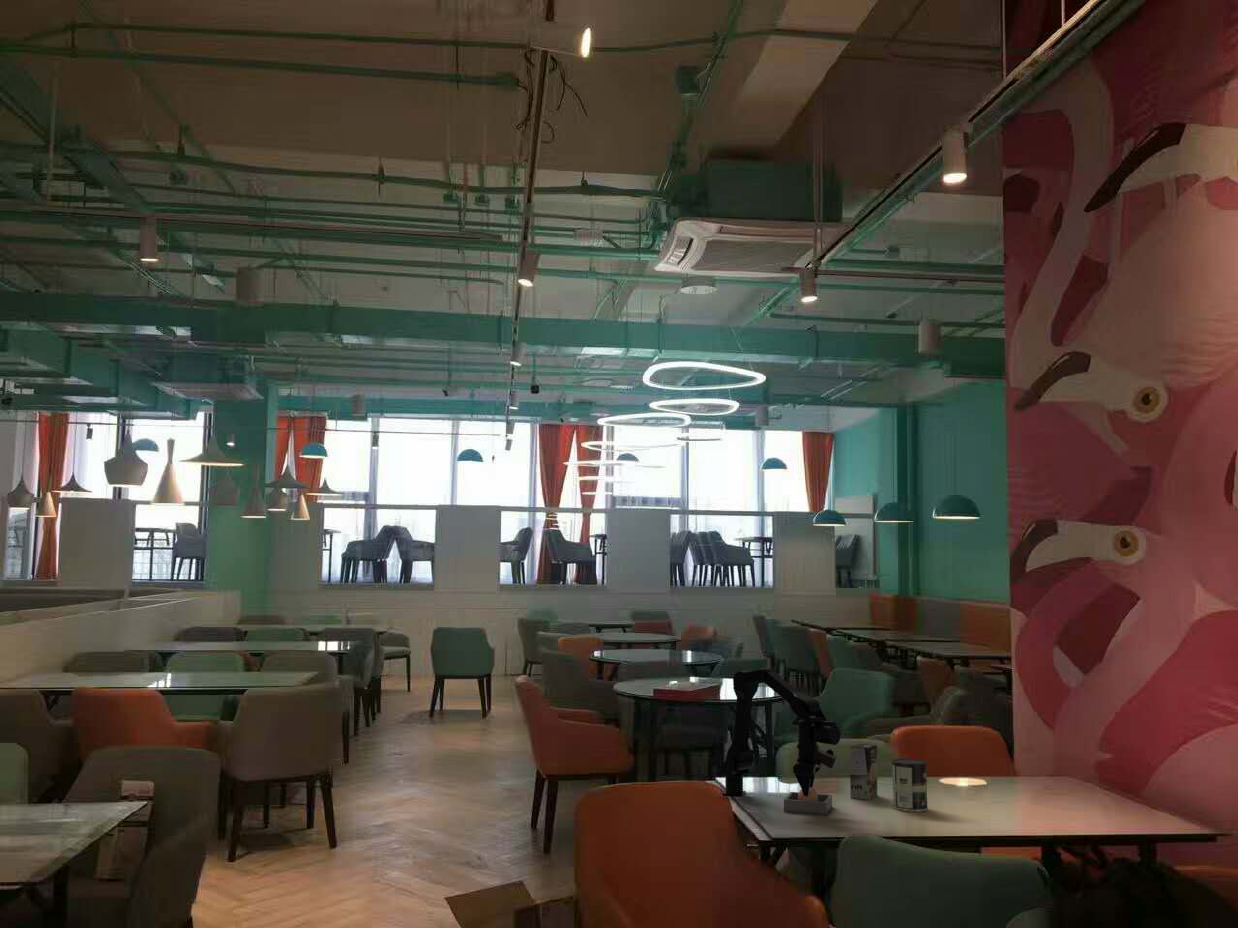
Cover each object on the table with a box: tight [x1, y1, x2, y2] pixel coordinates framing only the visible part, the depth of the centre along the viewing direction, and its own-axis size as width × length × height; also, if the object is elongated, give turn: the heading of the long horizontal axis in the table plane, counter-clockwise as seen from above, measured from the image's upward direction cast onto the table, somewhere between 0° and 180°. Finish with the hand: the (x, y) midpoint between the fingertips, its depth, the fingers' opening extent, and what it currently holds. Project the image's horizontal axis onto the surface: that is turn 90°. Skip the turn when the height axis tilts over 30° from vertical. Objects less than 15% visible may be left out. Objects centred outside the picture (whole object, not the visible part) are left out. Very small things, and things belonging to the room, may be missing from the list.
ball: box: [798, 787, 819, 802], centre depth 305 cm, size 6×6×6 cm
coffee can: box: [891, 758, 928, 813], centre depth 309 cm, size 10×10×14 cm
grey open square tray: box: [783, 791, 833, 816], centre depth 305 cm, size 13×13×4 cm
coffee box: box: [849, 743, 878, 800], centre depth 326 cm, size 9×6×16 cm
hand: (808, 793), depth 306 cm, fingers open, 7 cm apart
